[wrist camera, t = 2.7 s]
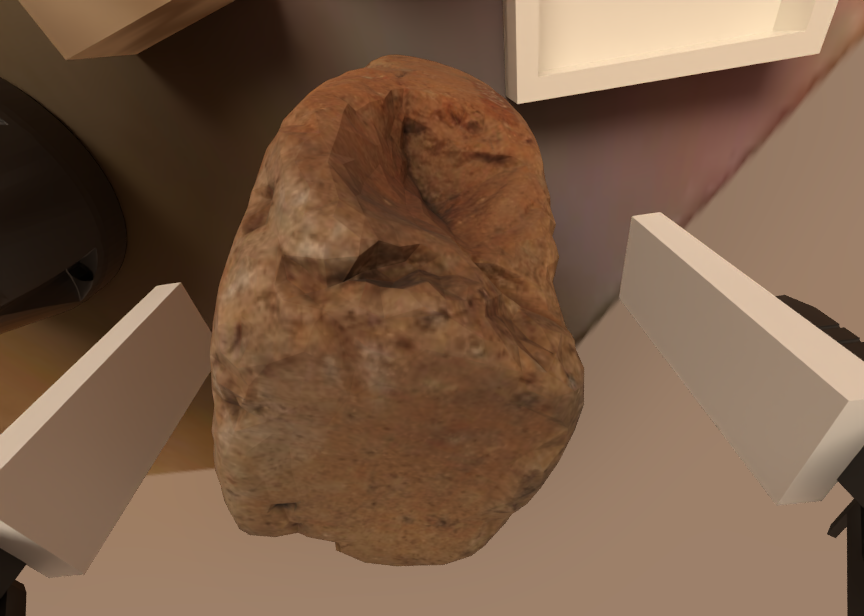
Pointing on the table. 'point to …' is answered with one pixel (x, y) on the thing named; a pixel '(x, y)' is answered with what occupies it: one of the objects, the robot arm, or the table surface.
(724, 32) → the tray
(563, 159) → the table surface
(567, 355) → the brown rough rounded part
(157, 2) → the oak brick
